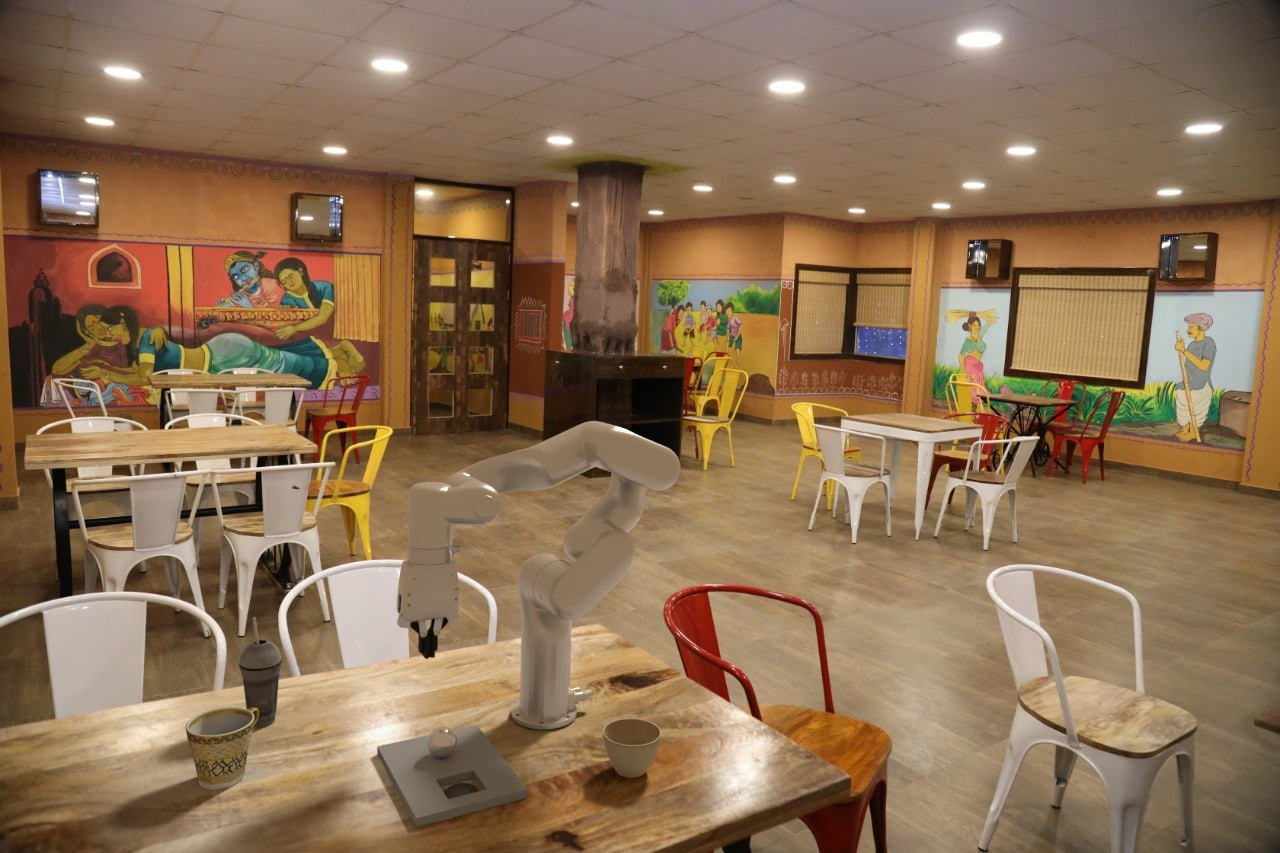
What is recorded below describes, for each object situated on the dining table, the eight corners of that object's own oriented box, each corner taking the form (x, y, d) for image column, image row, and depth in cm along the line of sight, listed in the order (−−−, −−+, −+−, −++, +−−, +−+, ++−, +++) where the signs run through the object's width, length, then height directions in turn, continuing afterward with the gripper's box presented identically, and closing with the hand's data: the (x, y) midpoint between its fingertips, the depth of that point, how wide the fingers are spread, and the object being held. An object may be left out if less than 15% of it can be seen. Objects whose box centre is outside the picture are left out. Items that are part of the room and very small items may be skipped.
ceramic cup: (221, 801, 135) (219, 741, 133) (172, 787, 138) (170, 728, 137) (282, 762, 147) (281, 706, 146) (236, 750, 150) (235, 695, 149)
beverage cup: (267, 733, 156) (265, 627, 154) (231, 728, 158) (228, 622, 155) (291, 715, 163) (289, 613, 161) (256, 710, 165) (254, 609, 162)
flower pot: (666, 762, 152) (668, 723, 151) (648, 791, 142) (650, 750, 141) (613, 751, 155) (615, 713, 154) (592, 778, 146) (593, 738, 145)
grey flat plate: (476, 732, 160) (476, 724, 159) (527, 797, 139) (527, 789, 139) (377, 754, 151) (377, 746, 150) (416, 827, 130) (416, 818, 130)
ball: (451, 746, 152) (452, 719, 151) (461, 759, 147) (461, 731, 147) (423, 752, 149) (423, 724, 148) (432, 766, 145) (432, 737, 144)
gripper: (464, 544, 157) (461, 642, 159) (380, 552, 149) (379, 654, 152) (478, 555, 151) (475, 656, 153) (392, 564, 143) (390, 670, 145)
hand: (427, 655), depth 152 cm, fingers closed
